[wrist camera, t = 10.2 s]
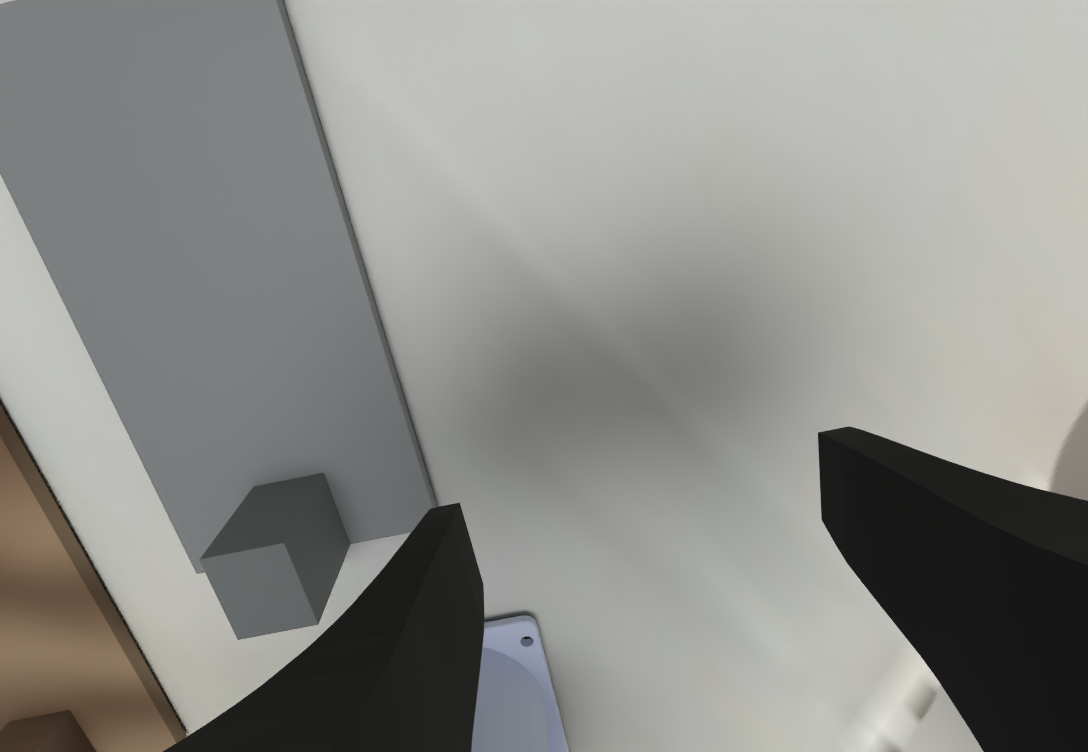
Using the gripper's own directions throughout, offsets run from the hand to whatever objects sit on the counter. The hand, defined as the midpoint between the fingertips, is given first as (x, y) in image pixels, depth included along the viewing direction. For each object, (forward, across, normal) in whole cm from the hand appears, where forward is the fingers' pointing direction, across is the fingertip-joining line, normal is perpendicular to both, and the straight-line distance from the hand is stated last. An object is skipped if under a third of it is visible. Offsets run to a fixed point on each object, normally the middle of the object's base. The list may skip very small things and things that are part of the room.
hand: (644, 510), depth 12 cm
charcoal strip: (+9, +11, -4) cm, 15 cm away
